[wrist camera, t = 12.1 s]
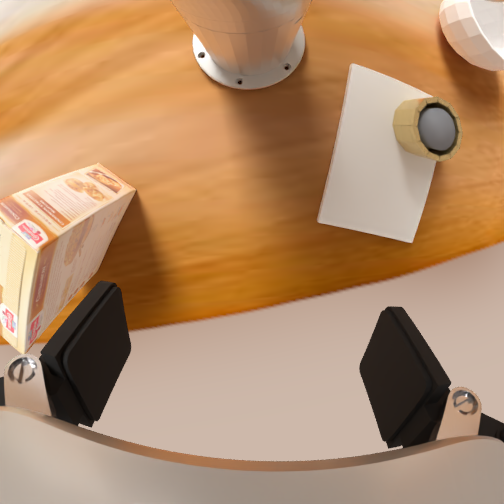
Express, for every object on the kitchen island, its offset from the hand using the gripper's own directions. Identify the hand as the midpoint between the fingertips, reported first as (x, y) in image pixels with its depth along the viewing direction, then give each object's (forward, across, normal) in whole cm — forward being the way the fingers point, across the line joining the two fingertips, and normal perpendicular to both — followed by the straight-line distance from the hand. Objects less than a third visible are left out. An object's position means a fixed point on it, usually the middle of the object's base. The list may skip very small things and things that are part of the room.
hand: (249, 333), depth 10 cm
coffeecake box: (+26, +21, +6) cm, 34 cm away
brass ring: (+25, -19, -11) cm, 33 cm away
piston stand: (+26, -16, -6) cm, 31 cm away
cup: (+26, -27, -28) cm, 47 cm away
